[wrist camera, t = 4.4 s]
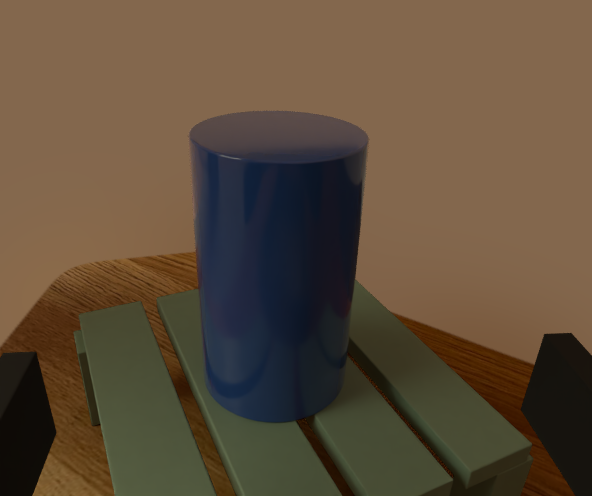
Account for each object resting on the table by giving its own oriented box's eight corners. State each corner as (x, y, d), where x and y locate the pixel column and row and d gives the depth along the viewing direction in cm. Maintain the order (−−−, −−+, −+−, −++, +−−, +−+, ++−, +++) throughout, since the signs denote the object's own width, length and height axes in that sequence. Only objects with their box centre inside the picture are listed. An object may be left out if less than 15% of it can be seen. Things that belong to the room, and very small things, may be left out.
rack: (87, 401, 30) (70, 315, 27) (332, 333, 36) (339, 257, 33) (147, 726, 17) (125, 627, 15) (507, 535, 24) (540, 440, 21)
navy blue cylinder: (186, 346, 25) (168, 117, 20) (306, 316, 28) (316, 105, 23) (231, 443, 20) (223, 172, 15) (372, 395, 23) (406, 149, 18)
